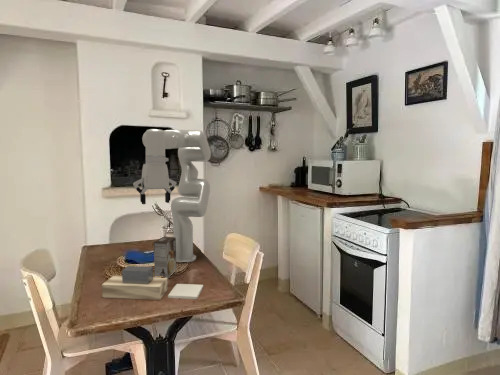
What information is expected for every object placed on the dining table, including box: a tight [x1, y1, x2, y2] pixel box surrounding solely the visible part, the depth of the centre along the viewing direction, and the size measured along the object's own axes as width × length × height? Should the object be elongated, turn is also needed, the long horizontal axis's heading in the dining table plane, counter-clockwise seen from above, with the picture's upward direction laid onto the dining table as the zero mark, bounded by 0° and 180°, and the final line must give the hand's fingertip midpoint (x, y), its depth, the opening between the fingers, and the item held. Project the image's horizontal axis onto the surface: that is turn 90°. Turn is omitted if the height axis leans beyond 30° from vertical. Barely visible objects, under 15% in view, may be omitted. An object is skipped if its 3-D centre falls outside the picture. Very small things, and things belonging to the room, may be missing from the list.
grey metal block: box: [121, 265, 154, 284], centre depth 129 cm, size 5×10×5 cm, turn 85°
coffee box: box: [153, 236, 177, 280], centre depth 148 cm, size 9×6×16 cm
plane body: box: [101, 275, 169, 301], centre depth 129 cm, size 9×22×5 cm, turn 85°
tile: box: [167, 283, 204, 300], centre depth 131 cm, size 11×11×1 cm
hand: (155, 203), depth 135 cm, fingers open, 9 cm apart
